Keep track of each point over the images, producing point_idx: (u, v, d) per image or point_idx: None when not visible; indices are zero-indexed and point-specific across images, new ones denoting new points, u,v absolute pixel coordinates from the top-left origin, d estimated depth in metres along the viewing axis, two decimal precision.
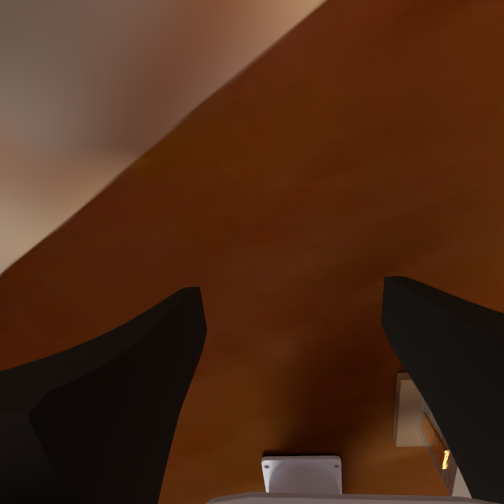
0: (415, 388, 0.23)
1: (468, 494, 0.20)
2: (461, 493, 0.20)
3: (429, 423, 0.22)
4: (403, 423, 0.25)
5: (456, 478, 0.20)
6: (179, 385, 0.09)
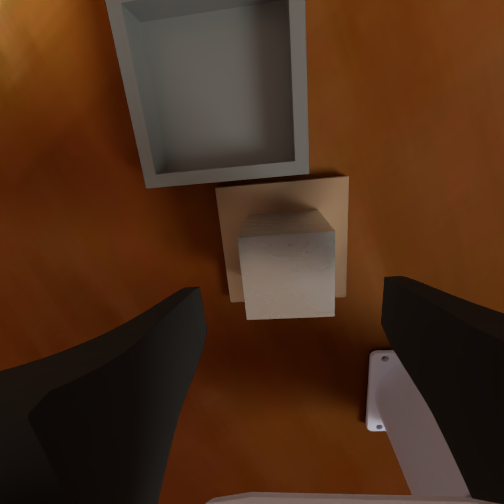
0: (242, 286, 0.19)
1: (327, 297, 0.13)
2: (324, 306, 0.13)
3: None
4: None
5: (293, 315, 0.14)
6: (179, 385, 0.09)
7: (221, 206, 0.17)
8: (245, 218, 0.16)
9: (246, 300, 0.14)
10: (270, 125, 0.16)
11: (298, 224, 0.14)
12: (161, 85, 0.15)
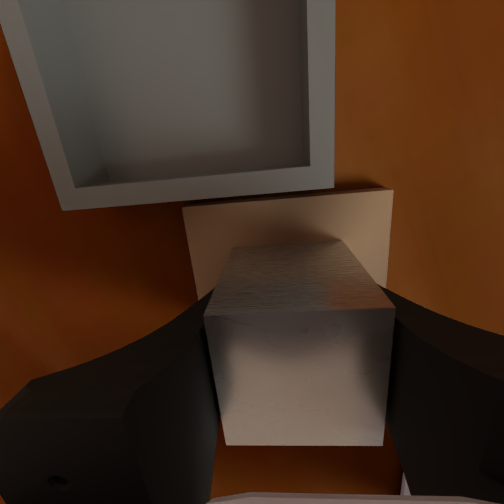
0: None
1: (371, 416, 0.07)
2: (365, 431, 0.07)
3: None
4: None
5: (307, 440, 0.08)
6: None
7: (192, 234, 0.11)
8: (228, 256, 0.10)
9: (224, 416, 0.08)
10: (267, 107, 0.10)
11: (317, 279, 0.08)
12: (86, 40, 0.09)
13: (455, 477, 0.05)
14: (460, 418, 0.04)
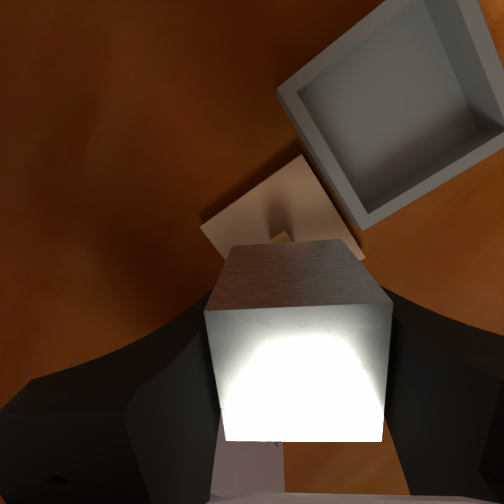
0: (222, 229, 0.18)
1: (370, 411, 0.07)
2: (364, 426, 0.08)
3: None
4: None
5: (307, 436, 0.08)
6: None
7: (287, 169, 0.17)
8: None
9: (224, 411, 0.08)
10: (377, 173, 0.17)
11: (316, 276, 0.08)
12: (372, 49, 0.15)
13: (455, 477, 0.05)
14: (460, 418, 0.04)
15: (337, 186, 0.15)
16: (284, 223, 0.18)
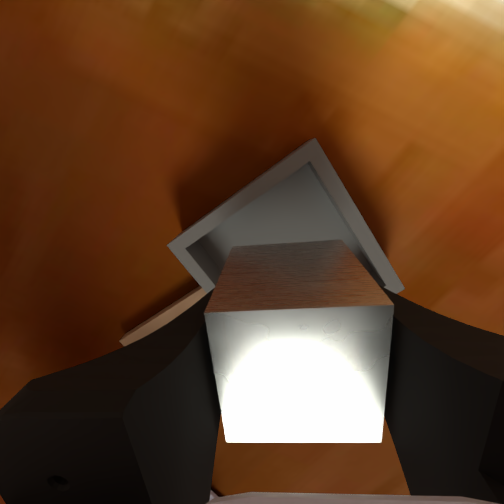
0: None
1: (370, 413, 0.07)
2: (364, 427, 0.08)
3: None
4: None
5: (307, 437, 0.08)
6: None
7: (196, 296, 0.17)
8: None
9: (224, 413, 0.08)
10: None
11: (316, 277, 0.08)
12: (264, 200, 0.15)
13: (455, 477, 0.05)
14: (460, 418, 0.04)
15: None
16: None
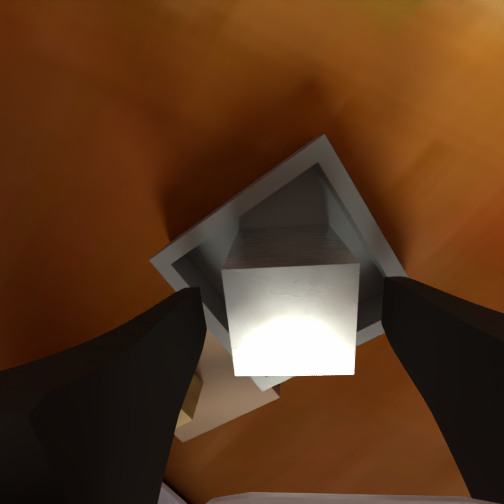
0: None
1: (344, 350, 0.10)
2: (340, 361, 0.10)
3: None
4: None
5: (297, 371, 0.10)
6: (179, 385, 0.09)
7: None
8: (236, 235, 0.13)
9: (234, 351, 0.10)
10: None
11: (306, 248, 0.10)
12: (263, 207, 0.13)
13: None
14: None
15: (229, 351, 0.14)
16: None
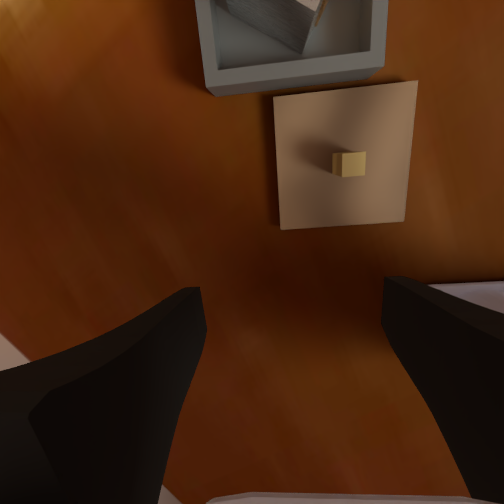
0: (294, 211, 0.18)
1: None
2: None
3: (320, 16, 0.13)
4: (357, 217, 0.18)
5: None
6: (179, 385, 0.09)
7: (278, 118, 0.16)
8: (227, 4, 0.14)
9: None
10: (337, 23, 0.15)
11: None
12: None
13: None
14: None
15: (321, 71, 0.14)
16: (325, 150, 0.17)
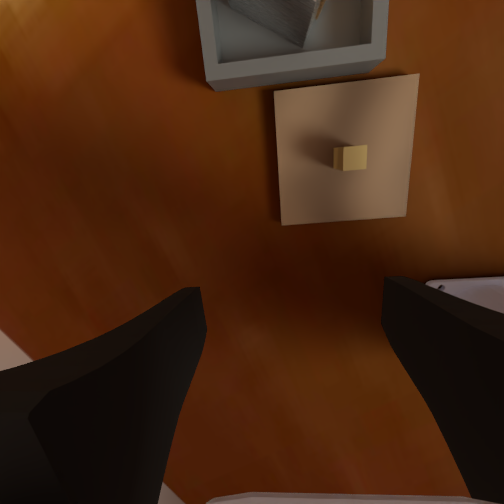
0: (295, 206, 0.18)
1: None
2: None
3: (321, 9, 0.13)
4: (358, 212, 0.18)
5: None
6: (179, 385, 0.09)
7: (279, 112, 0.16)
8: None
9: None
10: (337, 16, 0.15)
11: None
12: None
13: None
14: None
15: (322, 64, 0.14)
16: (326, 144, 0.17)
